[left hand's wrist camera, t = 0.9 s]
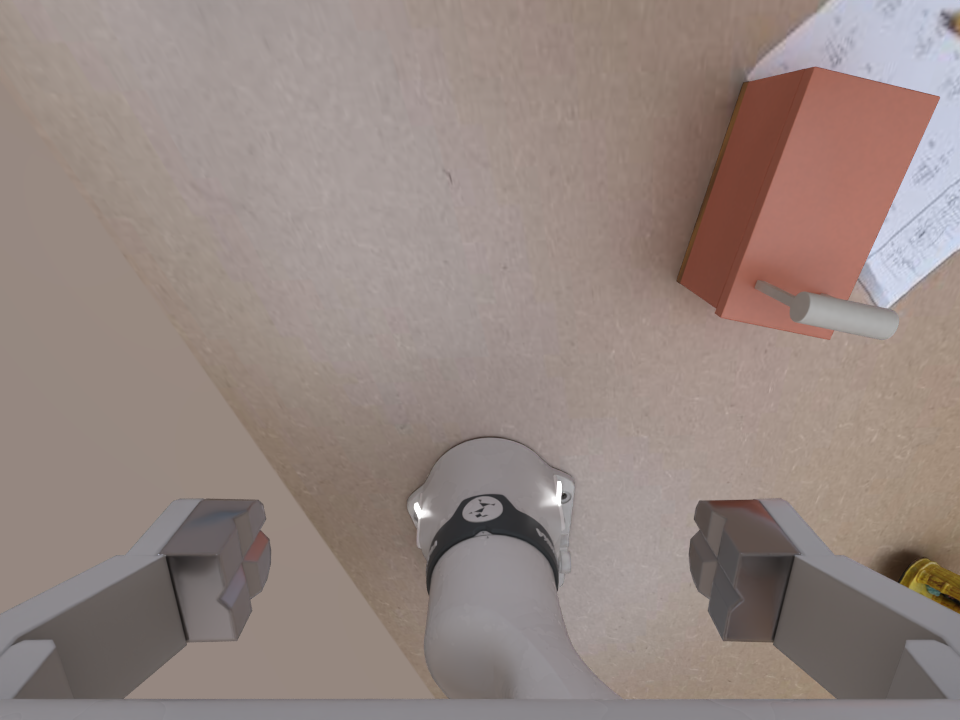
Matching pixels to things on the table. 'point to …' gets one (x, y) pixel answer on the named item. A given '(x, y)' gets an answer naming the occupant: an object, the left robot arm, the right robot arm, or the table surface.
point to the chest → (737, 183)
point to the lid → (826, 207)
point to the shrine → (933, 582)
